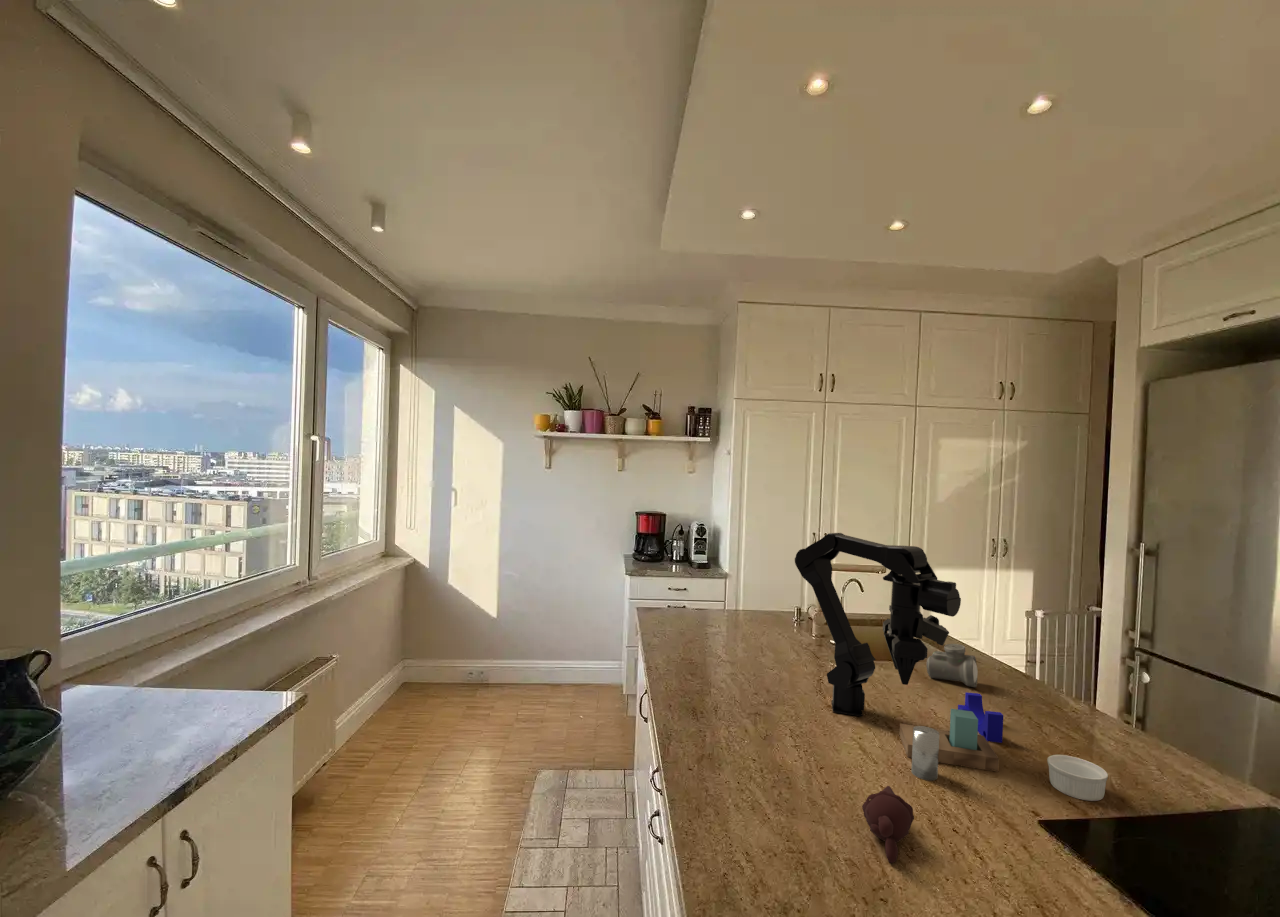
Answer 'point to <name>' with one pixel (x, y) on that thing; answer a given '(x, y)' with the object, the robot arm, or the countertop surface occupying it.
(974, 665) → the pipe fitting
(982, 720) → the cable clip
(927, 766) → the round peg
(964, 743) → the square peg
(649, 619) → the countertop surface
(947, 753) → the socket board
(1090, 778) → the ramekin
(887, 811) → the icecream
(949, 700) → the countertop surface
